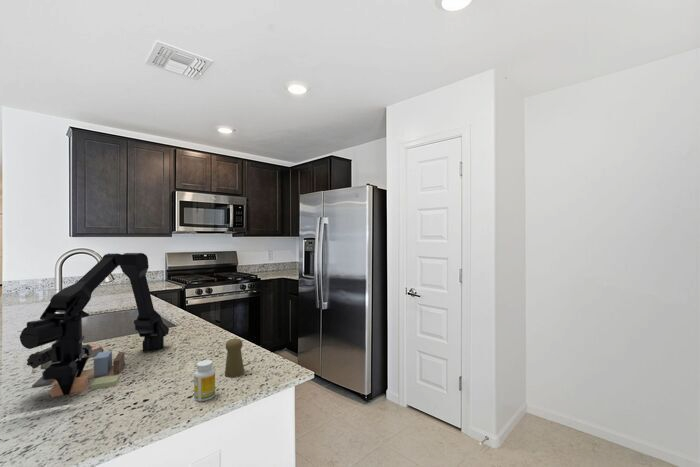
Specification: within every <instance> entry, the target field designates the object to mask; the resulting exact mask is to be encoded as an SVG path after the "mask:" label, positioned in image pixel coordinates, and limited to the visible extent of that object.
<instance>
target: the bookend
mask: <svg viewBox="0 0 700 467" xmlns="http://www.w3.org/2000/svg"><path fill="white" fill-rule="evenodd" d="M55 363H60V362H55ZM51 364H54V363H51ZM51 364H50V365H51ZM50 365H49V366H50ZM49 366H48V367H49ZM48 367H46V369H47V368H48ZM46 369H45V370H46ZM54 380H55V379H48V380H42V376H41V377H39V378H38V380H37V381H36V382H34V383H33V384H32V386H31V387H36V388H39V387H38V386H43V387H45V386H44V385H49V386H51V385H50V384H51V383H52V382H53V381H54Z"/></svg>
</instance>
